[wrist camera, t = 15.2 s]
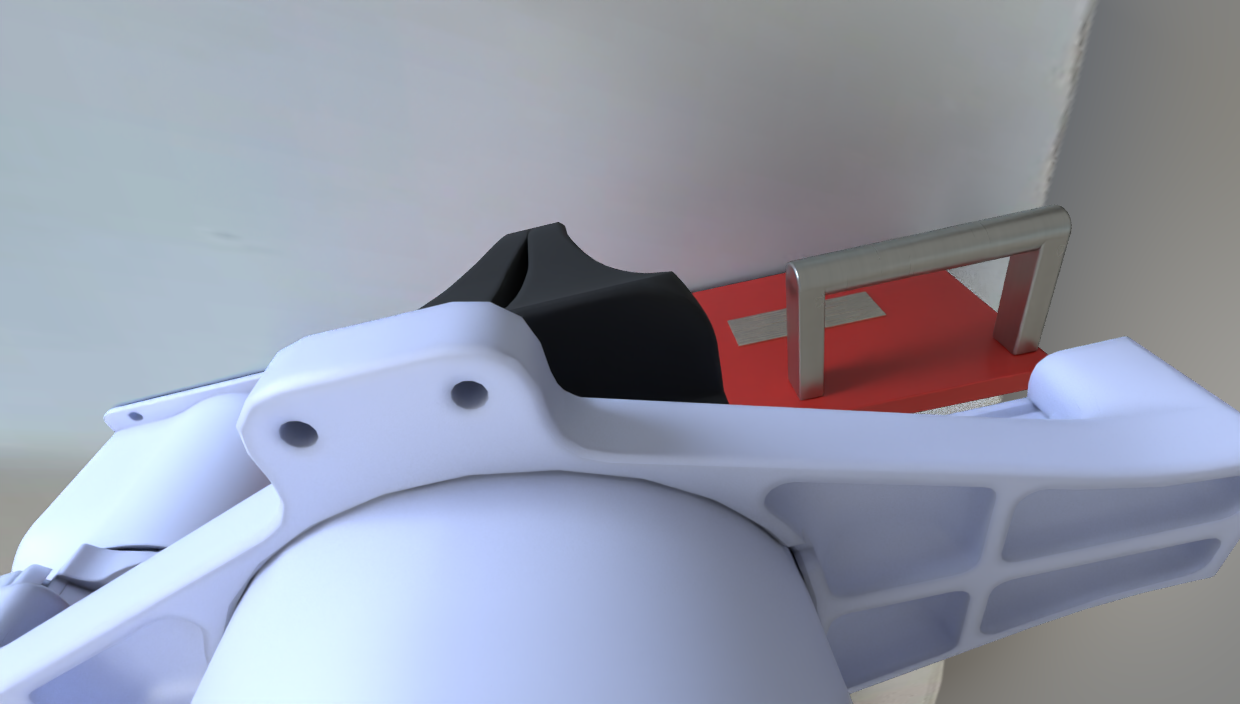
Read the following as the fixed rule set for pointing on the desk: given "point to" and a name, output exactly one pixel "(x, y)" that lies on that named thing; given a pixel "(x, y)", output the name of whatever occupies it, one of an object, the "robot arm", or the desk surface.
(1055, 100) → the desk surface
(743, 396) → the red drawer
